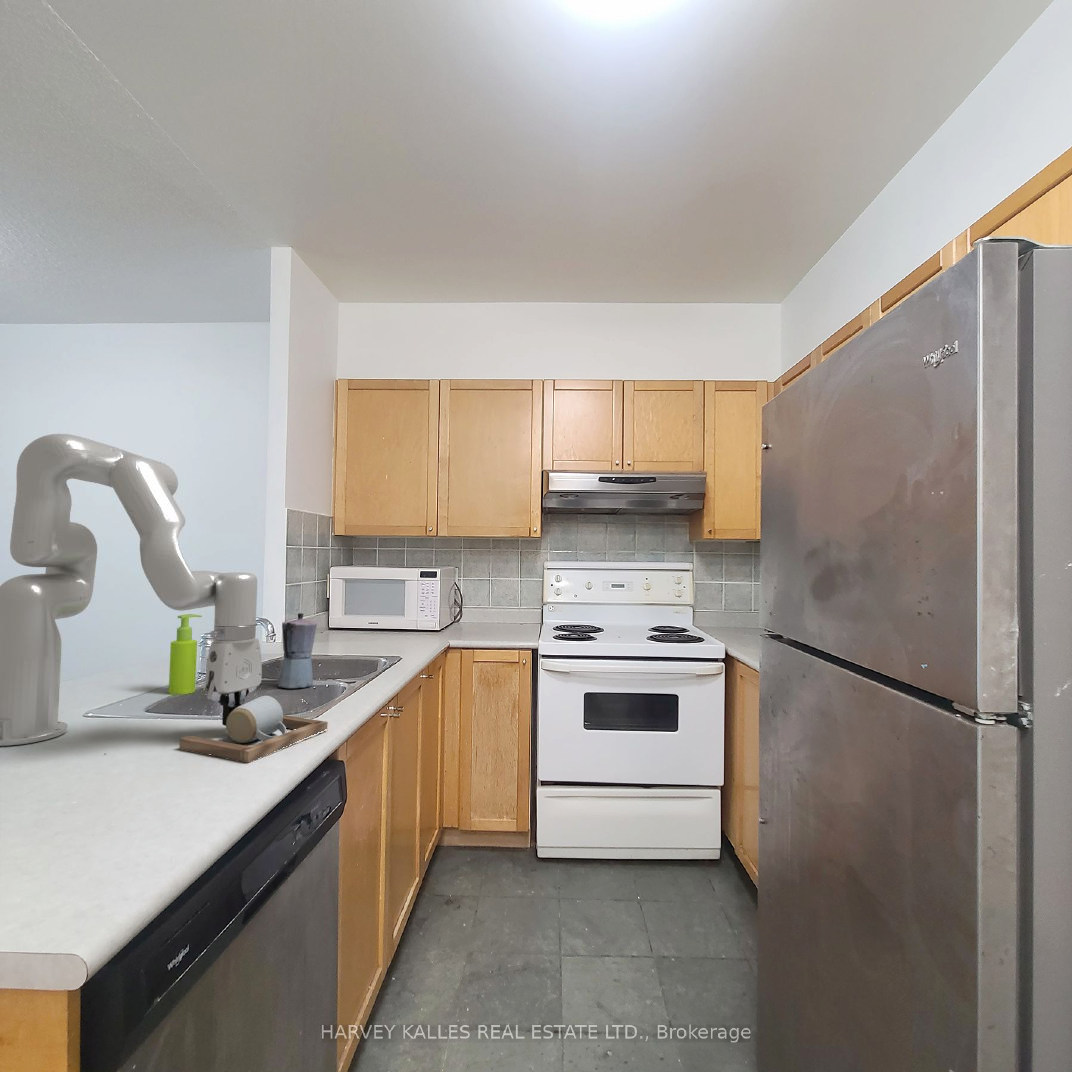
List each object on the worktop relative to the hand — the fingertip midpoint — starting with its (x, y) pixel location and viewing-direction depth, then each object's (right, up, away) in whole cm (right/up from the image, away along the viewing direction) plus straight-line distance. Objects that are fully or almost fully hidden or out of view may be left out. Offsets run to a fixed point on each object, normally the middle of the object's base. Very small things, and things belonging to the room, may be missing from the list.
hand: (231, 724), depth 117 cm
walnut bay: (+6, -2, -3) cm, 7 cm away
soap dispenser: (-30, -3, +34) cm, 46 cm away
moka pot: (-5, -4, +42) cm, 43 cm away
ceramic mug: (+7, -3, -2) cm, 7 cm away
